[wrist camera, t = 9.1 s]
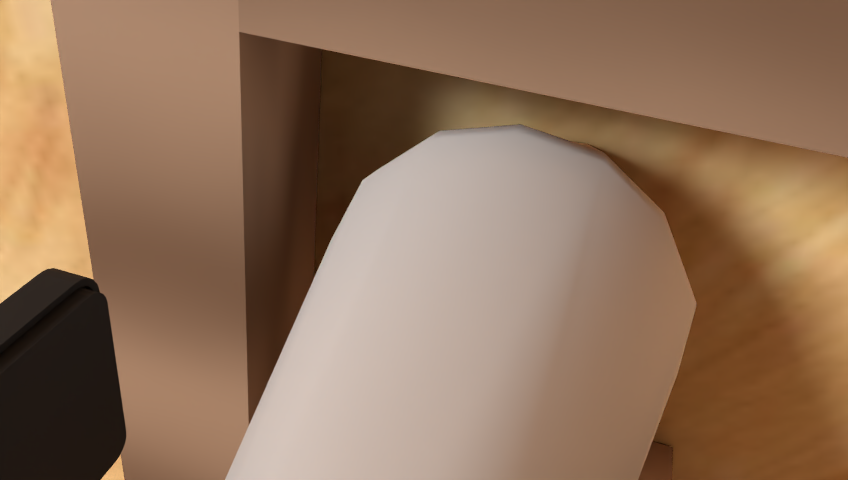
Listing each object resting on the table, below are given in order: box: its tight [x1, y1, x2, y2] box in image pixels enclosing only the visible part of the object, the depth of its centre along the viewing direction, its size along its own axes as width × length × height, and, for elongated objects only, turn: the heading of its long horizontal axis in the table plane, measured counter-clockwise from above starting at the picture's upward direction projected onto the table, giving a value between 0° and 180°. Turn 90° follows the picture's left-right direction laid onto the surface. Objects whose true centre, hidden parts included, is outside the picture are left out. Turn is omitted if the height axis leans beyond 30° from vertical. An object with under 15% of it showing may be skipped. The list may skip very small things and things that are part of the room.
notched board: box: [51, 0, 848, 480], centre depth 14 cm, size 18×11×3 cm, turn 175°
